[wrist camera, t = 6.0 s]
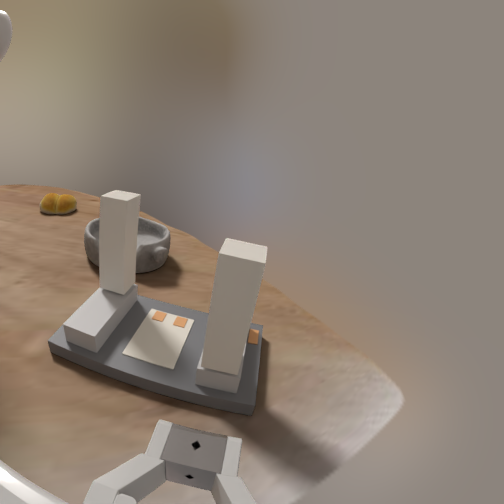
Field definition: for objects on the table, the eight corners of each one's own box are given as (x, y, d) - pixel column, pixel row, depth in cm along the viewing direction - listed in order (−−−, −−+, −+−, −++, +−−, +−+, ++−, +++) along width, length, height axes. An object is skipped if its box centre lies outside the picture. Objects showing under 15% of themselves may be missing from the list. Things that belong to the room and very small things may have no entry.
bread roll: (73, 216, 56) (73, 198, 55) (37, 215, 53) (36, 197, 51) (79, 205, 63) (79, 189, 62) (46, 204, 59) (46, 188, 58)
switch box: (251, 415, 23) (260, 390, 22) (50, 351, 23) (43, 324, 22) (260, 335, 34) (266, 311, 33) (103, 294, 34) (102, 270, 33)
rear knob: (123, 294, 29) (127, 200, 26) (100, 287, 29) (100, 195, 26) (135, 282, 32) (140, 194, 28) (112, 275, 32) (115, 189, 28)
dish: (175, 277, 43) (179, 246, 41) (81, 278, 37) (80, 245, 35) (160, 239, 55) (162, 213, 53) (87, 238, 48) (88, 211, 47)
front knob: (237, 375, 23) (265, 263, 19) (200, 366, 23) (218, 252, 19) (241, 351, 26) (267, 246, 22) (208, 344, 26) (226, 237, 22)
